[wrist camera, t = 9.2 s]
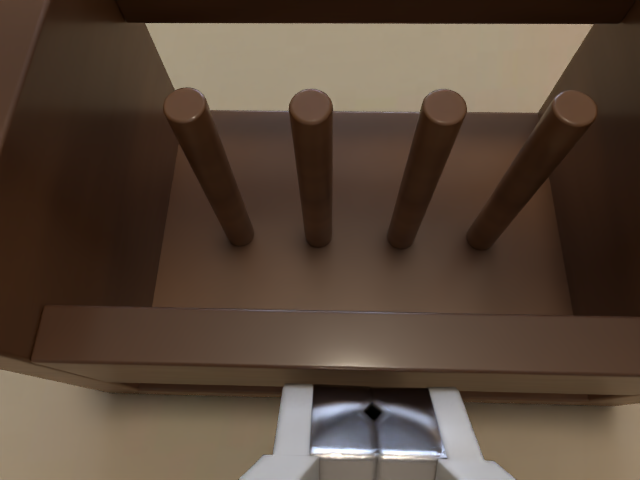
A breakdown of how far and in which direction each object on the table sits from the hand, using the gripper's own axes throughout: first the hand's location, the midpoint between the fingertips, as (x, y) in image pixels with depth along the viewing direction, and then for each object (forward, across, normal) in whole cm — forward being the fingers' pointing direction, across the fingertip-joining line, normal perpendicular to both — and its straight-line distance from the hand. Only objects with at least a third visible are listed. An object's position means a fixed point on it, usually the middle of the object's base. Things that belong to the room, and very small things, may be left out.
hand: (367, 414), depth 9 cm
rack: (+7, 0, 0) cm, 7 cm away
